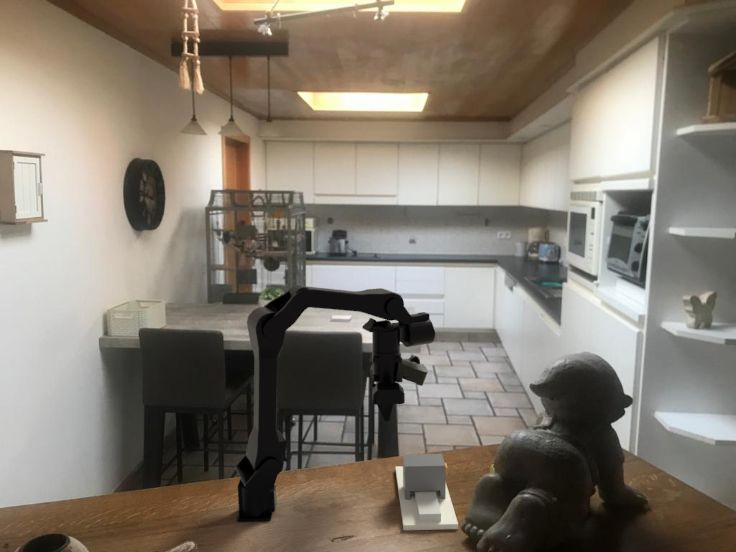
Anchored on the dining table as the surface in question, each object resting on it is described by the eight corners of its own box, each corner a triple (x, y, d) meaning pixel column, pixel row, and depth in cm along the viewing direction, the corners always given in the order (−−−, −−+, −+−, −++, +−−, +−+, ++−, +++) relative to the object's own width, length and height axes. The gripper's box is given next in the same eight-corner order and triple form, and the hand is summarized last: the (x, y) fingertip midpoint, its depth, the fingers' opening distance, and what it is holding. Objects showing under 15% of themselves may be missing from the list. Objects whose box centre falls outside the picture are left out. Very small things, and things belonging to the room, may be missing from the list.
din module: (405, 499, 111) (404, 466, 110) (403, 486, 116) (402, 454, 115) (448, 498, 111) (448, 465, 110) (444, 485, 116) (444, 453, 115)
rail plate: (403, 530, 103) (403, 517, 102) (395, 470, 125) (395, 460, 124) (458, 529, 103) (458, 516, 103) (440, 469, 125) (440, 459, 124)
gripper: (430, 362, 108) (430, 439, 110) (419, 337, 127) (419, 403, 129) (372, 363, 108) (373, 440, 110) (370, 338, 126) (371, 404, 129)
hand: (386, 420), depth 120 cm, fingers closed
